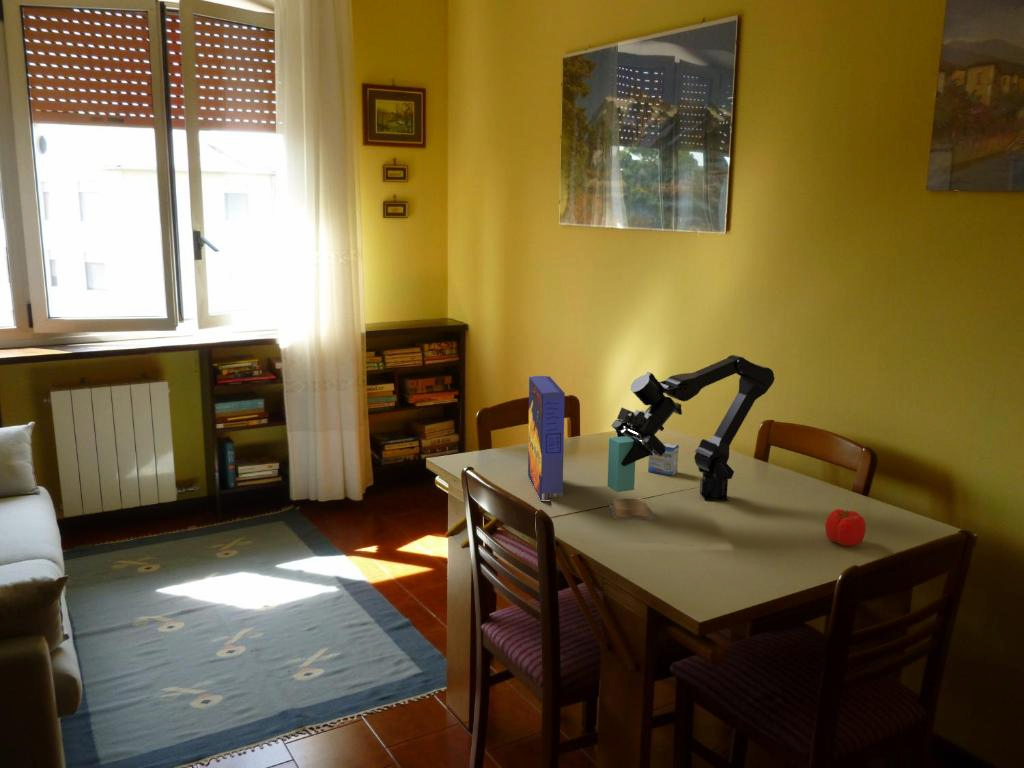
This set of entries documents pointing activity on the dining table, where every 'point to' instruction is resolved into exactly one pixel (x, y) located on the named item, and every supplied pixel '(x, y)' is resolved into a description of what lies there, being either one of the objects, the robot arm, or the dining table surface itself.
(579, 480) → the dining table surface
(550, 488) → the cereal box
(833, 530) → the tomato
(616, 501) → the top slab
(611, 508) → the base slab
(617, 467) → the pillar
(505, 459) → the dining table surface
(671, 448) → the medicine box
